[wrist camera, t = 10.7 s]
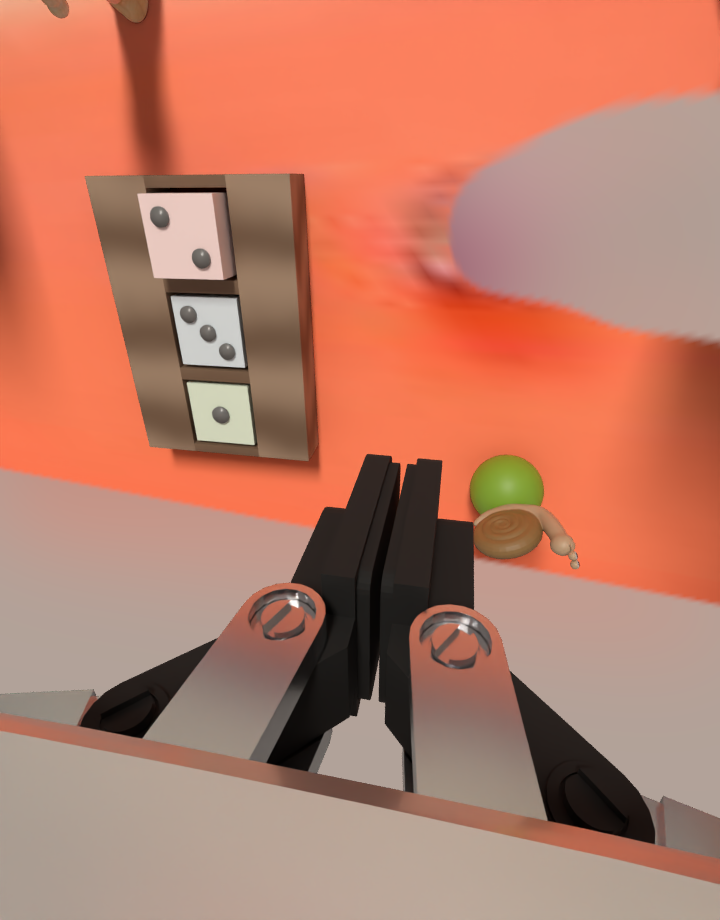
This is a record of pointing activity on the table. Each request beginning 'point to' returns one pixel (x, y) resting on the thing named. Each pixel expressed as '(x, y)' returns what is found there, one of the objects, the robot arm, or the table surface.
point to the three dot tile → (210, 329)
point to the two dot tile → (188, 235)
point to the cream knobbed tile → (222, 411)
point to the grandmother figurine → (128, 3)
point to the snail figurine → (514, 511)
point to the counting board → (257, 283)
